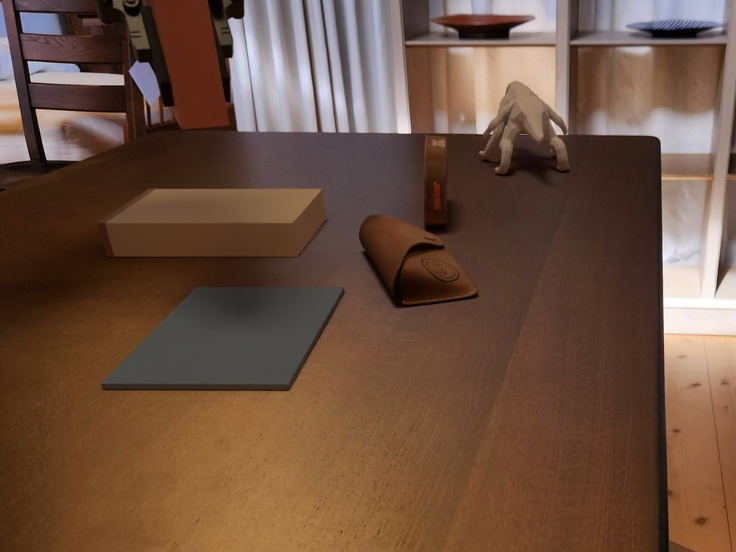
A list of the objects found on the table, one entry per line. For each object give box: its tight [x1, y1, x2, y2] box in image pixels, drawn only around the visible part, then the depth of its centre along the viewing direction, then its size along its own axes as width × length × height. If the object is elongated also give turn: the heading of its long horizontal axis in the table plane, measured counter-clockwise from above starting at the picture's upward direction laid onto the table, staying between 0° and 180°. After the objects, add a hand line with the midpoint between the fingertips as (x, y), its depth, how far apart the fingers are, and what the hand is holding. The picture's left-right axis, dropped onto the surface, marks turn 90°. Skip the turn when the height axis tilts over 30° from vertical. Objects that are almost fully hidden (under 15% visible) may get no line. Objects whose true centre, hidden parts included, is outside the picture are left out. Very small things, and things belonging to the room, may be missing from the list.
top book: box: [142, 0, 230, 130], centre depth 68 cm, size 4×12×10 cm, turn 24°
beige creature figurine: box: [478, 79, 570, 175], centre depth 121 cm, size 12×25×10 cm, turn 11°
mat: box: [100, 286, 345, 391], centre depth 74 cm, size 14×21×1 cm, turn 178°
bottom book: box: [97, 187, 327, 258], centre depth 97 cm, size 20×14×4 cm
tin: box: [423, 134, 449, 227], centre depth 101 cm, size 15×3×8 cm, turn 4°
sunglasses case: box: [358, 213, 479, 306], centre depth 86 cm, size 18×7×7 cm
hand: (196, 92), depth 67 cm, fingers closed on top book, 3 cm apart
